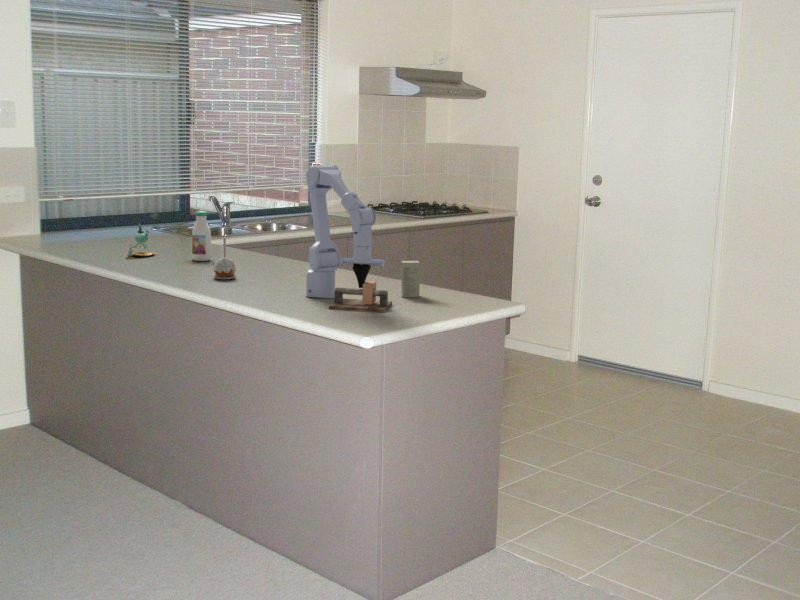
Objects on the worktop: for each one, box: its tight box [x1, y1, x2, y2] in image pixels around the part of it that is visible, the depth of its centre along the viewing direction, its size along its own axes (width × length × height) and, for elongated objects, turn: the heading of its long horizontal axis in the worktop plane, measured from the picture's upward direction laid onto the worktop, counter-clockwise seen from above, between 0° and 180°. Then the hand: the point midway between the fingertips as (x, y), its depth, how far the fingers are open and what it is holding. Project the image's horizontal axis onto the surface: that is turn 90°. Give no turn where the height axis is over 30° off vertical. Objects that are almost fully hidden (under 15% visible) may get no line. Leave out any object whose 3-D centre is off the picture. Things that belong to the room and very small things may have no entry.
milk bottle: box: [191, 210, 212, 262], centre depth 387 cm, size 8×8×20 cm
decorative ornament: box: [213, 237, 237, 281], centre depth 346 cm, size 8×8×15 cm
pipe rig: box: [328, 287, 393, 313], centre depth 303 cm, size 18×13×6 cm
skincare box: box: [401, 260, 421, 298], centre depth 322 cm, size 6×4×12 cm
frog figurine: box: [125, 223, 158, 260], centre depth 394 cm, size 10×18×15 cm, turn 144°
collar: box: [361, 280, 377, 305], centre depth 302 cm, size 3×6×6 cm, turn 169°
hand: (361, 287), depth 302 cm, fingers closed
